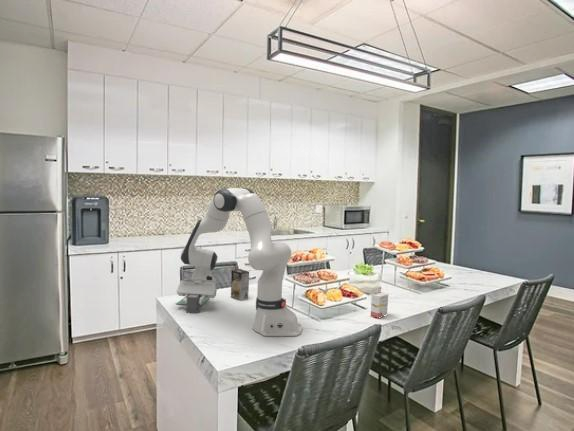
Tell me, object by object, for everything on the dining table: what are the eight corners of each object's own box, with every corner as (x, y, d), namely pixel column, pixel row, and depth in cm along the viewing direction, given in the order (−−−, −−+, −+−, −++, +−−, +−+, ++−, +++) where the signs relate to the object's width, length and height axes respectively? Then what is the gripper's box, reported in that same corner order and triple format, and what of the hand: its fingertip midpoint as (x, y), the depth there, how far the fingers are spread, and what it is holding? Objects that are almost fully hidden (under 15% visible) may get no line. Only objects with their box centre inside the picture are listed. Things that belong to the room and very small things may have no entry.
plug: (199, 311, 189) (199, 294, 188) (196, 313, 185) (196, 297, 184) (190, 310, 189) (190, 294, 189) (187, 312, 185) (187, 296, 185)
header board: (209, 298, 210) (209, 295, 210) (201, 306, 196) (201, 303, 196) (186, 297, 211) (186, 294, 211) (176, 304, 197) (176, 301, 197)
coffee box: (230, 297, 214) (230, 270, 212) (238, 295, 218) (239, 268, 217) (240, 301, 207) (241, 273, 206) (249, 298, 212) (249, 271, 211)
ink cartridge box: (378, 319, 185) (380, 290, 184) (370, 316, 189) (371, 288, 188) (387, 315, 191) (389, 287, 190) (379, 313, 195) (380, 285, 194)
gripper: (179, 275, 194) (171, 299, 185) (217, 278, 192) (211, 302, 183) (182, 281, 199) (175, 305, 190) (219, 284, 196) (213, 308, 187)
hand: (193, 303), depth 186 cm, fingers open, 5 cm apart
